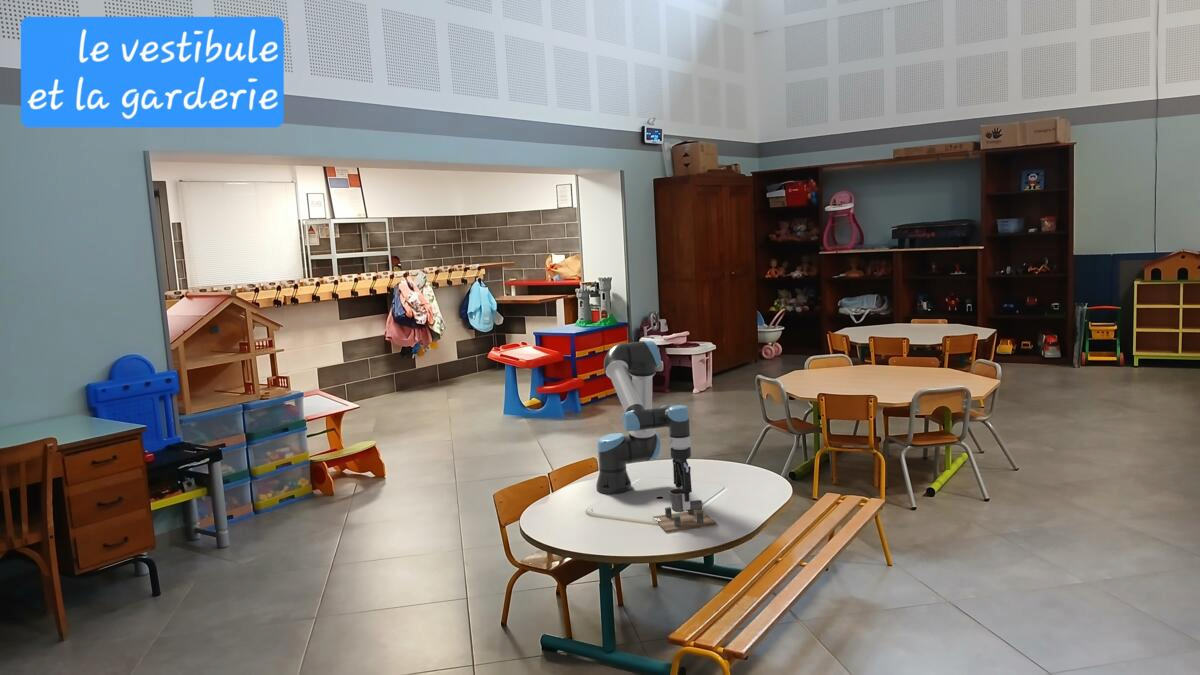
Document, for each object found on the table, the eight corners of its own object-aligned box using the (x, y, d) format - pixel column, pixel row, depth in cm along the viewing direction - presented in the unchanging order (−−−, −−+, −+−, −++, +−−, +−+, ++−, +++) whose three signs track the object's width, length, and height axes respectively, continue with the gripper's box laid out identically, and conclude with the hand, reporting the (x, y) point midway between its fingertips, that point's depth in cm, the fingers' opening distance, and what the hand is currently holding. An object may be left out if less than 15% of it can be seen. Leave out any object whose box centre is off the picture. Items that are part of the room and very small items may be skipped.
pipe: (702, 514, 321) (701, 494, 319) (667, 514, 323) (666, 494, 321) (702, 507, 326) (702, 487, 324) (669, 506, 328) (668, 487, 326)
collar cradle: (652, 519, 330) (652, 507, 330) (701, 511, 335) (701, 500, 334) (665, 532, 315) (665, 520, 314) (717, 525, 319) (716, 513, 319)
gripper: (663, 442, 330) (666, 500, 332) (679, 454, 311) (682, 515, 314) (681, 440, 331) (684, 498, 334) (698, 451, 313) (701, 513, 316)
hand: (683, 506), depth 324 cm, fingers closed on pipe, 6 cm apart
